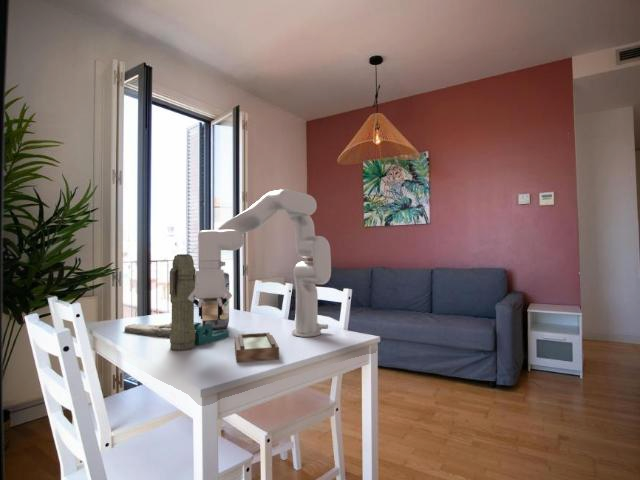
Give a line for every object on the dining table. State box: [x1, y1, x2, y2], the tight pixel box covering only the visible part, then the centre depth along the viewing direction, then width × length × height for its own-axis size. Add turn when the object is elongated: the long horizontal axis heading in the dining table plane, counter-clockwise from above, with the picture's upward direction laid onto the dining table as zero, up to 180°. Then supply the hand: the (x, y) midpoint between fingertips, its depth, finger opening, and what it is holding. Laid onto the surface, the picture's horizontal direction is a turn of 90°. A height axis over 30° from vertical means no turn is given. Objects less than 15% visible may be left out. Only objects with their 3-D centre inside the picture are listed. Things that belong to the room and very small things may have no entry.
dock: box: [234, 332, 280, 363], centre depth 133 cm, size 14×18×5 cm
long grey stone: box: [124, 322, 172, 338], centre depth 162 cm, size 35×5×10 cm
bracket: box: [194, 321, 230, 347], centre depth 152 cm, size 18×7×8 cm, turn 150°
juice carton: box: [206, 271, 230, 331], centre depth 173 cm, size 9×10×27 cm
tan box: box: [201, 298, 218, 326], centre depth 129 cm, size 5×10×10 cm, turn 15°
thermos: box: [169, 253, 197, 352], centre depth 140 cm, size 9×12×35 cm
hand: (210, 317), depth 129 cm, fingers closed on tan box, 5 cm apart
